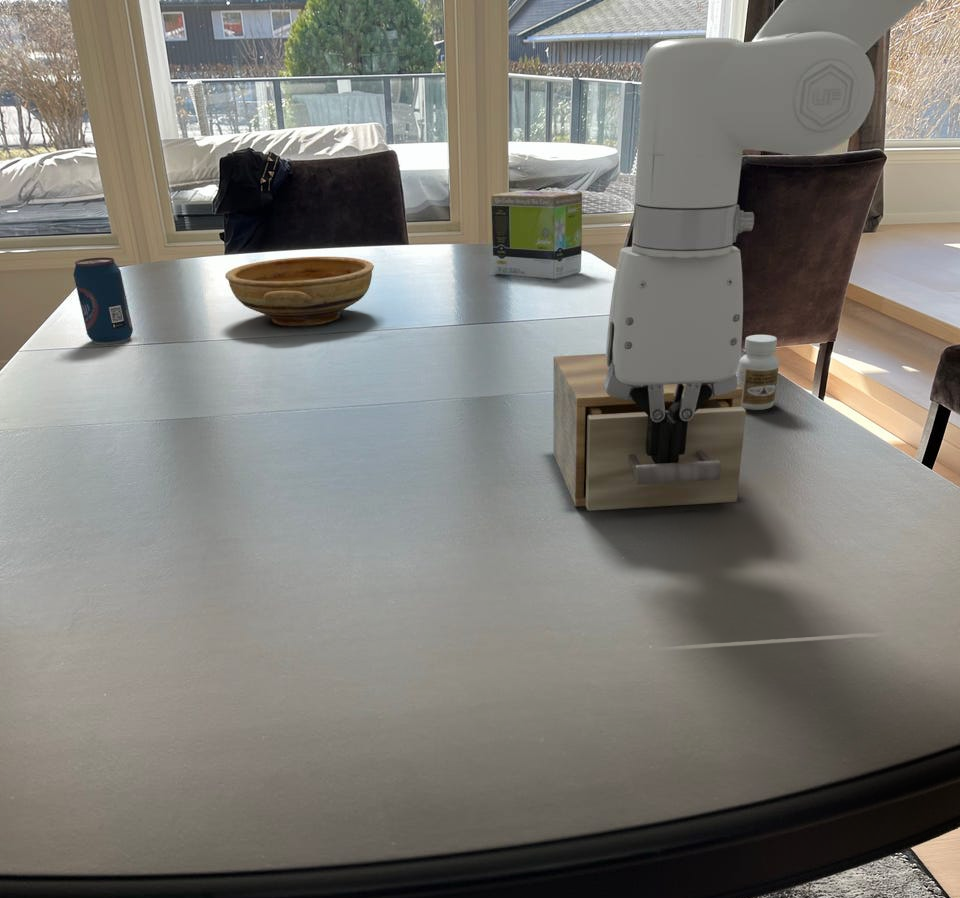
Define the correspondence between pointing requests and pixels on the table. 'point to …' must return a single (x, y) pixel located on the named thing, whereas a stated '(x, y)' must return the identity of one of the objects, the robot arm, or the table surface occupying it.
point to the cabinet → (572, 394)
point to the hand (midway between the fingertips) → (664, 462)
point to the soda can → (103, 300)
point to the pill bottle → (758, 372)
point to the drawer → (641, 483)
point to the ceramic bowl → (301, 287)
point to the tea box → (537, 233)
